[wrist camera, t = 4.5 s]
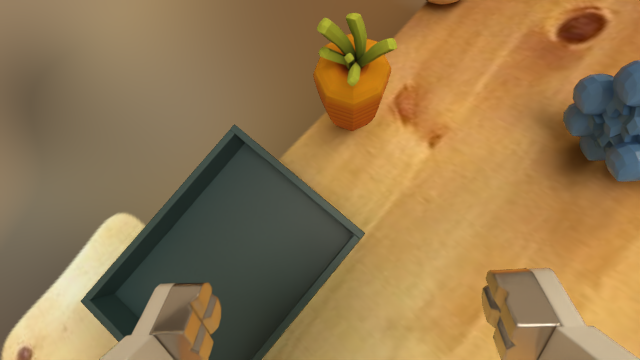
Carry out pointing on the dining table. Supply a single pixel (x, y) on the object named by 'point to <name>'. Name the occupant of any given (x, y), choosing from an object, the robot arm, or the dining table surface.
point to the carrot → (351, 73)
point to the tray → (232, 249)
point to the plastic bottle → (442, 1)
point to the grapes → (609, 120)
